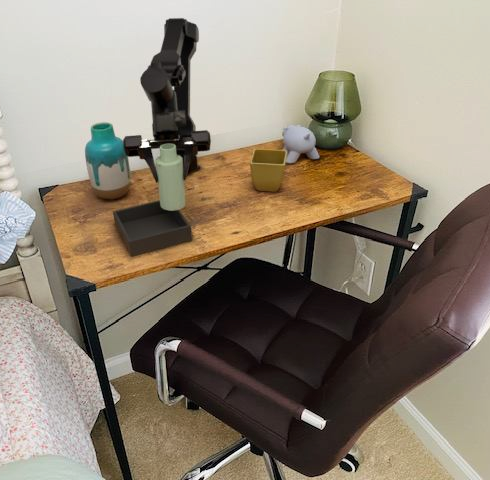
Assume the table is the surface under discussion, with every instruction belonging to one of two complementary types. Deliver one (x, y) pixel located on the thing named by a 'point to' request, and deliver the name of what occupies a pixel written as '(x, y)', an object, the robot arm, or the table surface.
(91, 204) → the table surface
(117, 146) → the vase
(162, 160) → the bottle
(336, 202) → the table surface
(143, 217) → the bin
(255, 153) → the flower pot
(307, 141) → the hippopotamus toy
